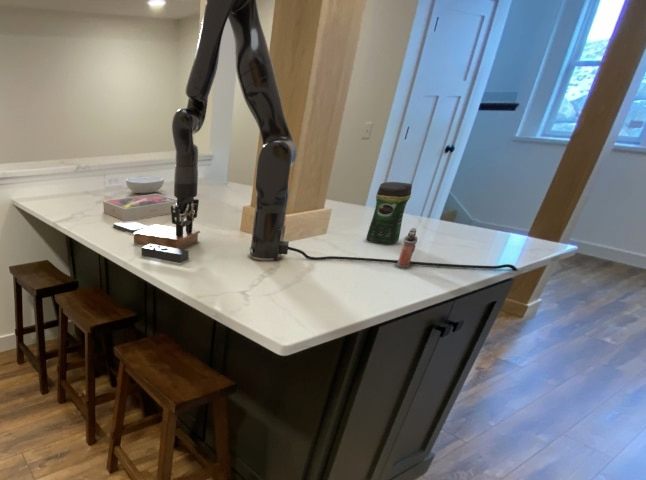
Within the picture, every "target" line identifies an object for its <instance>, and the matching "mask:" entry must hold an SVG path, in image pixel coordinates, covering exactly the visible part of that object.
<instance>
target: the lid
mask: <svg viewBox="0 0 646 480" xmlns="http://www.w3.org/2000/svg"><path fill="white" fill-rule="evenodd" d="M190 224H191V220H190V219H187V220H186V219H184V221H183V236H181V237H179V236H176V226H169V225H163V224H153V225H150V226H149V227H148V228H145V229H142V230H140V231H137V232H134V233H133V236H134V235H139V236H145V237H151V238H158V239H164V240H170V241H176V242H180V241H182V240H184V239H187V238H189V237H191V236H194V235H196V234H198V235H199V234H200V233H201V230H197V229H192V232H191V233H189V225H190ZM186 226H187V232H186Z"/></svg>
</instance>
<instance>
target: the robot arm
mask: <svg viewBox="0 0 646 480" xmlns="http://www.w3.org/2000/svg"><path fill="white" fill-rule="evenodd" d="M258 9H259V8H258V3H257V0H205V6H204V13H203V18H202V22H201V24H202V25H201V29H200V33H199V39H198V42H197V47H196V50H195V51H196V52H195V55H194V58H193V63H192V66H191V69H190V72H189V76H188V78H187V83H186V86H185V90H184V91H185V95H186V97H187V98H188V99H187V103H186V107H185V108H179V109H178V110H177V111H175V113H174V115H173V116H172V121H171V132H172V139H173V145H174V149H175V162H174V163H175V164H174V165H175V166H174V167H175V168H174V173H173V174H174V176H173V177H174V178H173V180H174V181H173V182H174V183H173V195H174V198H175V199H177V203H176V205H175V206H173V205H172V206H171V214H170V215H171V224H173V225H175V227H176V236H179V237H181V236H183V228H184V227H183V221H185V220H187V219H190V220H191V224H190V225H189V233H191V232H192V230H193V226H194V225H193V222H194V221H195V219H197V217H198V213H199V202H200V200H199V198H196V197H197V196H198V182H199V168H198V167H199V165H198V164H199V163H198V162H199V147H198V145H197V144H194V136H193V135H195V134H197V133H199V131H200V130H201V129H202V128H203V126H204V123H205V120H206V116H207V109H208V102H209V101H208V99H209V96H210V93H211V90H212V87H213V84H214V81H215V78H216V75H217V71H218V67H219V66H218V65H219V60H220V52H221V44H222V38H223V33H224V30H225V27H226V24H227V22H228V21H229V25H230V28H231V30H232V34H233V40H234V50H235V51H234V55H235V57H234V60H235V71H236V76H237V80H238V84H239V87H240V91H241V94H242V97H243V99H244V102H245V104H246V106H247V108H248V110H249V112H250V113H251V116H252V117H253V119H254V120H255V122H256V124H257V127H258V130H259V133H260V137H261V142H262V147H261V149H260V151H259V153H258V158H257V164H256V174H255V175H256V176H255V192H256V195H255V196H256V197H255V205H254V212H253V213H254V215H253V222H252V233H251V240H250V241H251V242H250V247H249V249H248V250H249V258H250V259H252V260H256V261H259V262H260V261H261V262H272V261H273V262H274V261H275V262H277V261H279V259H280V258H281V257H282V255H288V253H289V251H292V252H296V253H299V254H301V255H302V256H303V257H304V258H306V259H308V260H313V261H322V260H323V261H324V260H345V261H361V262H363V261H364V262H375V263H376V262H378V263H388V264H389V263H391V264H397V261H398V260H397V259H385V258H373V257H370V258H369V257H357V256H356V257H355V256H353V257H352V256H339V255H338V256H334V255H328V256H327V255H326V256H318V257H317V256H309V255H308V254H307V253H306V252H305V251H303V250H301V249H298V248H295V247H291V246H289V245H290V242H289V241H288V240H287V241H286V240H284V239H285V233H286V226H287V225H286V224H285V223H286V216H287V208H288V202H289V197H290V196H289V195H290V189H289V180H290V172H291V168H292V166H293V165H294V163H295V161H296V160H297V147H296V143H295V141H294V139H293V136H292V133H291V130H290V128H289V126H288V123H287V120H286V116H285V113H284V108H283V103H282V98H281V93H280V88H279V84H278V80H277V75H276V71H275V67H274V64H273V60H272V57H271V54H270V51H269V47H268V43H267V40H266V36H265V33H264V31H263V26H262V23H261V19H260V15H259V10H258ZM185 229H186V232H187V226H185ZM410 265H415V266H416V265H417V266H428V267H444V268H459V269H460V268H461V269H483V270H484V269H487V270H498V269H504V268H509V269H511V270H512V271H516V272H517V271H518V268H517V267H516V266H515V265H513V264H509V263H508V264H507V263H506V264H500V265H479V264H475V265H474V264H454V263H441V262H439V263H437V262H423V261H412V260H410Z"/></svg>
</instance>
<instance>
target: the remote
mask: <svg viewBox="0 0 646 480" xmlns="http://www.w3.org/2000/svg"><path fill="white" fill-rule="evenodd" d="M189 252H190V251H189V250H188V249H184V248H182V249H177V248H171V247H165V246H160V245H154V244H149V245H147V246H145V245H143V246H142V247H141V256H142V257H146V258H152V259H156V260H162V261H168V262H172V263H178V264H181V263H183V262H185V261H187V260H189V255H190V253H189Z"/></svg>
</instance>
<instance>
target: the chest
mask: <svg viewBox="0 0 646 480" xmlns="http://www.w3.org/2000/svg"><path fill="white" fill-rule="evenodd" d="M198 239H199V233H198V234H196V235H194V236H191V237H189V238H187V239H184V240H182V241H180V242H176V241H170V240H164V239H158V238H151V237H145V236H139V235H134V234H133V244H135V245H140V246H147V245H149V244H154V245H160V246H165V247H171V248H177V249H184V248H186V247H188V246H189V247H190V245H194V244H195V243H198V241H199V240H198Z"/></svg>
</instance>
